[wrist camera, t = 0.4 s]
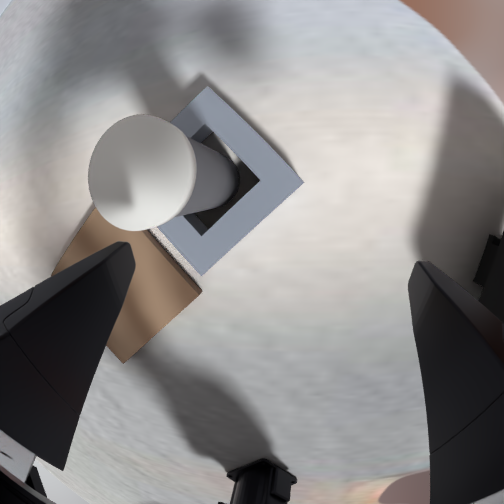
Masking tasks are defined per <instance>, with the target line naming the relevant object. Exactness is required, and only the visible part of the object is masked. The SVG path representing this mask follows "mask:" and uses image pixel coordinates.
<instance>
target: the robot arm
mask: <svg viewBox="0 0 504 504" xmlns="http://www.w3.org/2000/svg"><path fill="white" fill-rule="evenodd" d="M135 268H136V262H135V258H134V255H133V251H132V248H131V245H130V243H129V242H124V241H117V242H115V243H113V244H111V245H109V246H107V247H105V248H103V249H101V250H99V251H98V252H96V253H94V254H92V255H90V256H88V257H86V258H84V259H82V260H81V261H79V262H77V263H75V264H73V265H71V266H69V267H68V268H66V269H64V270H62V271H60V272H59V273H57V274H55V275H53V276H51V277H50V278H48V279H46V280H44V281H43V282H41V283H39V284H37V285H36V286H35V287H32V288H31V289H29V290H27V291H25V292H24V293H22V294H20V295H18V296H17V297H15V298H13V299H11V300H10V301H8V302H6V303H4V304H2V305H1V306H0V504H56V503H54V502H53V501H51V500H49V499H48V498H47V496H46V493H45V490H44V488H43V485H42V482H41V479H40V476H39V473H38V470H37V468H36V467H34V466H33V463H34V461H35V458H36V456H38V457H39V458H41V459H43V460H44V461H46V462H48V463H49V464H51V465H53V466H54V467H56V468H58V469H60V470H62V471H63V470H64V467H65V464H66V460H67V457H68V453H69V450H70V446H71V443H72V440H73V436H74V433H75V430H76V427H77V424H78V420H79V417H80V416H79V415H80V414H81V411H82V408H83V405H84V402H85V399H86V396H87V394H88V391H89V388H90V385H91V383H92V380H93V377H94V374H95V372H96V369H97V367H98V364H99V361H100V359H101V356H102V354H103V351H104V349H105V346H106V344H107V342H108V339H109V337H110V334H111V332H112V330H113V327H114V325H115V323H116V320H117V318H118V316H119V314H120V311H121V309H122V306H123V304H124V301H125V298H126V295H127V292H128V289H129V286H130V283H131V280H132V277H133V274H134V272H135ZM408 292H409V300H410V307H411V316H412V325H413V332H414V337H415V342H416V347H417V352H418V358H419V363H420V369H421V376H422V382H423V389H424V396H425V404H426V413H427V423H428V435H429V450H430V504H472V503H473V504H504V324H502V322H501V321H500V320H499V319H498V318H497V317H496V316H495V315H494V314H492V313H491V312H490V311H489V310H488V309H487V308H486V307H485V306H483V305H482V304H481V303H480V302H479V301H478V300H476V299H475V298H474V297H473V296H472V295H471V294H469V293H468V292H467V291H466V290H465V289H463V288H462V287H461V286H460V285H458V284H457V283H456V282H455V281H454V280H452V279H451V278H450V277H449V276H447V275H446V274H445V273H443V272H442V271H441V270H440V269H438V268H437V267H436V266H434V265H433V264H432V263H431V262H429V261H420V260H418V261H417V262H416V263H415V265H414V268H413V271H412V273H411V276H410V279H409V282H408ZM227 477H228V478H229V479H231V480H233V481H234V482H235V484H234V488H233V492H232V497H231V501H230V504H287V502H288V501H290V491H291V485H293V484H296V483H297V479H296V478H295V477H293V476H291V475H290V474H288V473H287V472H285V471H283V470H282V469H280V468H279V467H277V466H276V465H274V464H273V463H271V462H270V461H268V460H267V459H260V460H258V461H255V462H253V463H251V464H248V465H246V466H243V467H241V468H238V469H236V470H233V471H230V472H228V473H227ZM218 504H225V503H223V502H218Z"/></svg>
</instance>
